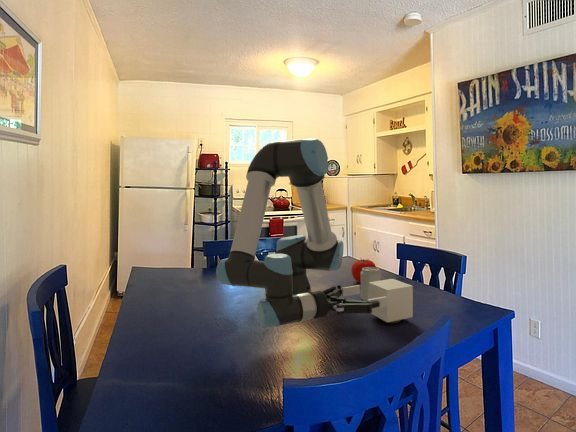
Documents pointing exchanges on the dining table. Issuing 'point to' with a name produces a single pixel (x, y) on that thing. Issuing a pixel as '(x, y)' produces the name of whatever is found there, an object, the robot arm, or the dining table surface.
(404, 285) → the cream rounded cube
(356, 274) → the tomato
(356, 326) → the dining table surface
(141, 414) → the dining table surface
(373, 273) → the can
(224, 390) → the dining table surface
